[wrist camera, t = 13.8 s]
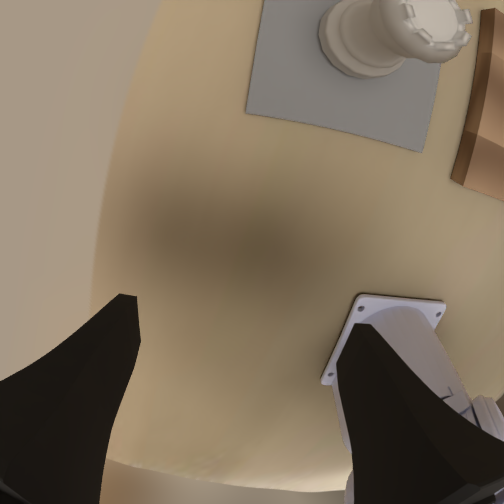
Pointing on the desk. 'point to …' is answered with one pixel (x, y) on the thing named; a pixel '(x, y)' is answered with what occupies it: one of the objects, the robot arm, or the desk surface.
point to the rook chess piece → (391, 34)
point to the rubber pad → (334, 82)
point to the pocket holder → (485, 114)
